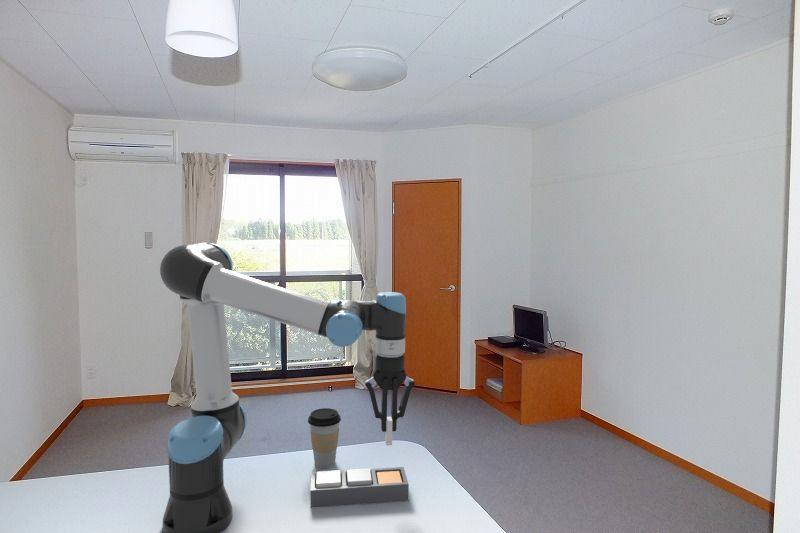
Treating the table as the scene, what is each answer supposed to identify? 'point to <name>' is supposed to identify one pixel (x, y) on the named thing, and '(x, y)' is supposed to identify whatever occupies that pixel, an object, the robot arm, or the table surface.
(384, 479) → the key orange
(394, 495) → the keypad
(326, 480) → the key cream
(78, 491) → the table surface
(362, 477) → the key grey
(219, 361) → the robot arm
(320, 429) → the coffee cup
